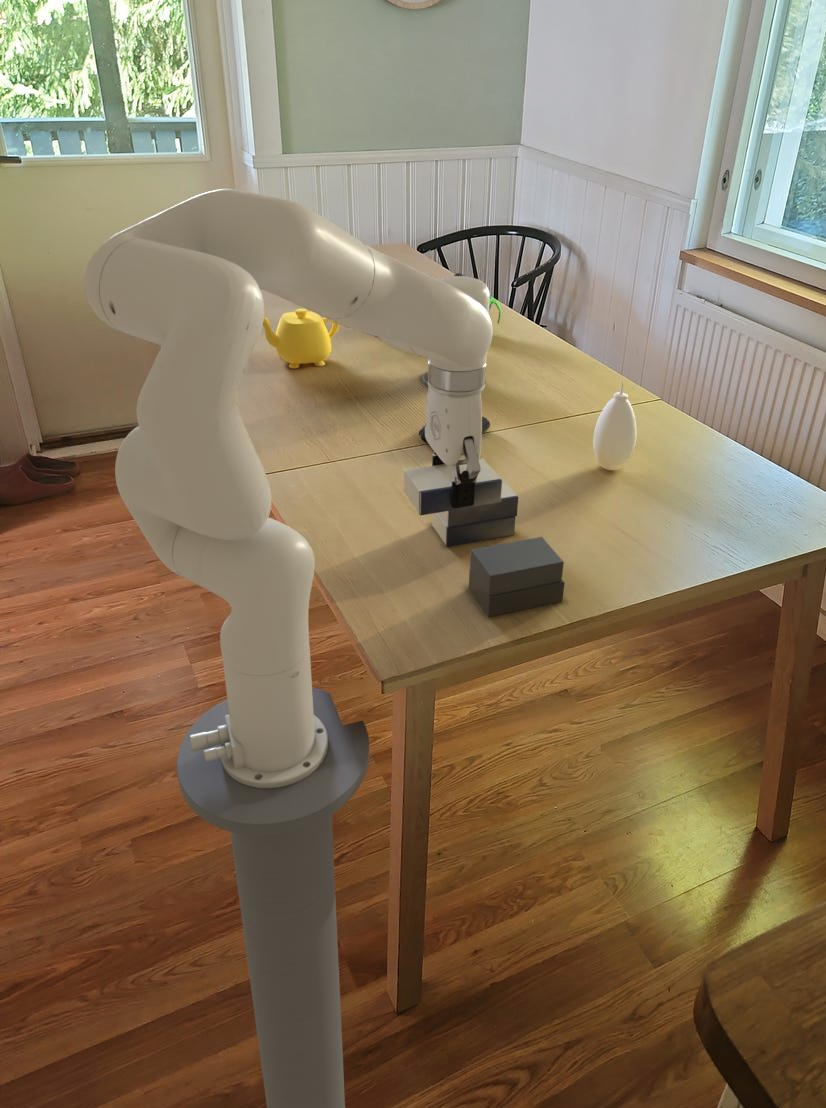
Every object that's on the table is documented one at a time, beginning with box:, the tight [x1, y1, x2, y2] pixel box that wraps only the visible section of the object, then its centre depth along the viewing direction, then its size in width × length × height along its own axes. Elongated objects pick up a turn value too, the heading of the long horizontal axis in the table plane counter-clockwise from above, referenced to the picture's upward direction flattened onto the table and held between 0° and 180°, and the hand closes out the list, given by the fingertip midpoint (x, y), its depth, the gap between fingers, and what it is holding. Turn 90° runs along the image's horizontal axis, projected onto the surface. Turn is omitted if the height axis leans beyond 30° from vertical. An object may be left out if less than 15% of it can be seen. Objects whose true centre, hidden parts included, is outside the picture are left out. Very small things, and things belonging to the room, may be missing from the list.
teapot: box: [262, 308, 341, 369], centre depth 204 cm, size 13×20×12 cm
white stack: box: [431, 477, 519, 548], centre depth 143 cm, size 12×7×7 cm, turn 113°
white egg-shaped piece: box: [592, 380, 637, 472], centre depth 163 cm, size 8×8×18 cm
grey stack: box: [468, 536, 565, 618], centre depth 128 cm, size 12×8×7 cm, turn 113°
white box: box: [403, 458, 503, 517], centre depth 122 cm, size 12×7×4 cm, turn 112°
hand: (452, 491), depth 122 cm, fingers closed on white box, 7 cm apart
